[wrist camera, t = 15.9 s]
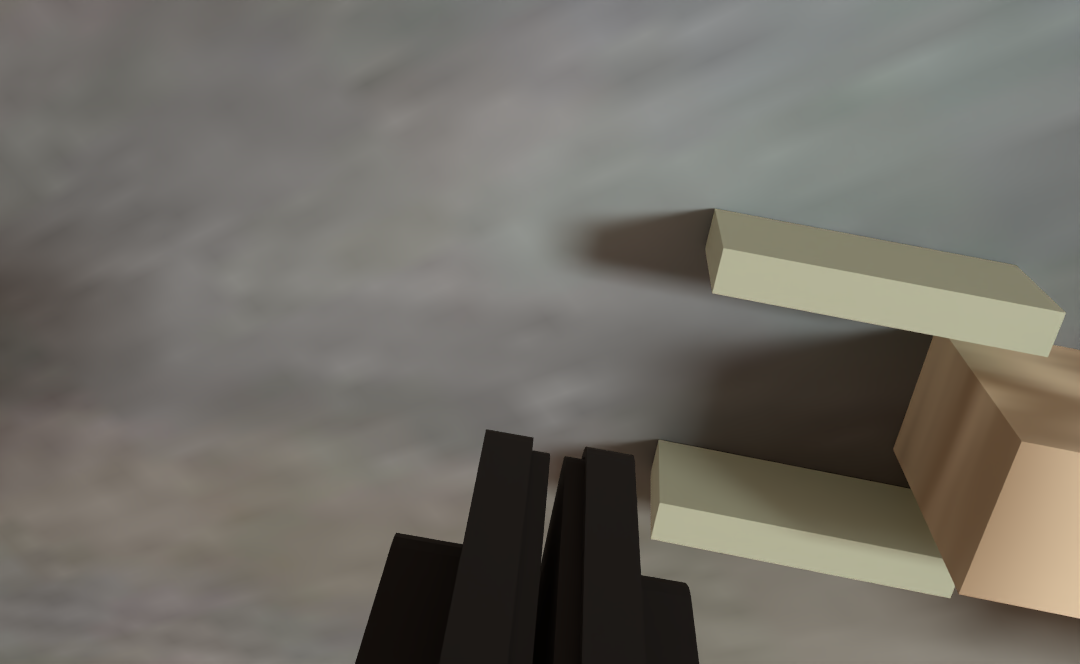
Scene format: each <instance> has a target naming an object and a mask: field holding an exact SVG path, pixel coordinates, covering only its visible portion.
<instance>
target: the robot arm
mask: <svg viewBox="0 0 1080 664" xmlns="http://www.w3.org/2000/svg"><path fill="white" fill-rule="evenodd" d="M532 447H533V438H532V437H527V436H521V435H515V434H510V433H504V432H498V431H493V430H487V429H486V433H485V437H484V442H483V447H482V452H481V457H480V462H479V467H478V472H477V477H476V482H475V487H474V492H473V497H472V502H471V507H470V512H469V517H468V522H467V527H466V532H465V537H464V542H463V544H458V543H452V542H446V541H440V540H435V539H429V538H423V537H417V536H412V535H406V534H400V533H396V534H395V536H394V539H393V542H392V544H391V548H390V551H389V554H388V557H387V561H386V564H385V567H384V570H383V574H382V577H381V580H380V584H379V587H378V590H377V593H376V597H375V600H374V603H373V606H372V610H371V613H370V616H369V620H368V623H367V626H366V629H365V633H364V636H363V639H362V642H361V646H360V649H359V652H358V656H357V659H356V662H355V664H699V659H698V651H697V642H696V634H695V626H694V618H693V610H692V601H691V595H690V590H689V587H688V586H687V584H686V583H683V582H677V581H672V580H666V579H660V578H654V577H648V576H643V575H641V567H640V549H639V531H638V513H637V495H636V477H635V461H634V456H633V455H629V454H623V453H618V452H612V451H606V450H601V449H595V448H589V447H585V449H584V452H583V455H582V459H578V458H572V457H566V456H565V457H564V460H563V464H562V468H561V473H560V478H559V482H558V487H557V492H556V496H555V501H554V506H553V510H552V515H551V520H550V524H549V529H548V534H547V538H546V543H545V548H544V552H543V557H542V545H543V533H544V521H545V510H546V498H547V486H548V474H549V463H550V454H549V453H544V452H538V451H532ZM541 557H542V562H541Z"/></svg>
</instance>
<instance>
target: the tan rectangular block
mask: <svg viewBox="0 0 1080 664" xmlns="http://www.w3.org/2000/svg"><path fill="white" fill-rule="evenodd" d="M893 450H894V453H895V455H896V457H897V459H898V461H899V464H900V466H901V468H902V470H903V472H904V475H905V477H906V479H907V481H908V483H909V486H910V488H911V490H912V492H913V495H914V497H915V499H916V501H917V503H918V506H919V508H920V510H921V512H922V514H923V517H924V519H925V521H926V523H927V525H928V528H929V530H930V532H931V534H932V536H933V539H934V541H935V543H936V545H937V547H938V550H939V552H940V554H941V556H942V558H943V561H944V563H945V565H946V567H947V569H948V572H949V574H950V576H951V578H952V580H953V583H954V585H955V587H956V589H957V591H958V594H960V595H965V596H970V597H975V598H980V599H985V600H990V601H995V602H1000V603H1005V604H1010V605H1015V606H1020V607H1025V608H1030V609H1035V610H1040V611H1045V612H1050V613H1055V614H1060V615H1065V616H1070V617H1075V618H1080V350H1076V349H1071V348H1066V347H1061V346H1056V345H1053V346H1052V348H1051V351H1050V353H1049V356H1048V357H1044V356H1039V355H1033V354H1028V353H1023V352H1018V351H1013V350H1007V349H1002V348H997V347H992V346H986V345H981V344H976V343H971V342H965V341H960V340H955V339H950V338H944V337H939V336H933V338H932V341H931V344H930V347H929V350H928V353H927V355H926V358H925V361H924V364H923V367H922V369H921V372H920V375H919V378H918V381H917V384H916V386H915V389H914V392H913V395H912V398H911V400H910V403H909V406H908V409H907V412H906V415H905V417H904V420H903V423H902V426H901V429H900V431H899V434H898V437H897V440H896V443H895V446H894V448H893Z"/></svg>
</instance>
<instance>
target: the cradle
mask: <svg viewBox="0 0 1080 664" xmlns="http://www.w3.org/2000/svg"><path fill="white" fill-rule="evenodd" d="M705 252H706V258H707V264H708V270H709V276H710V282H711V288H712V293H714V294H719V295H724V296H730V297H735V298H740V299H745V300H751V301H756V302H761V303H766V304H772V305H777V306H782V307H787V308H792V309H798V310H803V311H808V312H813V313H819V314H824V315H829V316H834V317H840V318H845V319H850V320H855V321H861V322H866V323H871V324H876V325H882V326H887V327H892V328H897V329H902V330H908V331H913V332H918V333H923V334H929V335H934V336H939V337H944V338H950V339H955V340H960V341H965V342H971V343H976V344H981V345H986V346H992V347H997V348H1002V349H1007V350H1013V351H1018V352H1023V353H1028V354H1033V355H1039V356H1044V357H1048V356H1049V353H1050V351H1051V348H1052V346H1053V344H1054V341H1055V339H1056V336H1057V334H1058V331H1059V329H1060V326H1061V324H1062V321H1063V319H1064V316H1065V314H1066V313H1065V312H1064V311H1063V310H1062V309H1061V308H1060V307H1059V306H1058V305H1057V304H1056V303H1055V302H1054V301H1053V300H1052V299H1051V298H1050V297H1049V296H1048V295H1047V294H1046V293H1045V292H1043V291H1042V290H1041V289H1040V288H1039V287H1038V286H1037V285H1036V284H1035V283H1034V282H1033V281H1032V280H1031V279H1030V278H1029V277H1028V276H1027V275H1026V274H1025V273H1024V272H1023V271H1021V270H1020V269H1019V268H1018V267H1017V266H1016V265H1012V264H1007V263H1001V262H996V261H991V260H985V259H980V258H975V257H969V256H964V255H959V254H954V253H948V252H943V251H938V250H932V249H927V248H922V247H916V246H911V245H906V244H900V243H895V242H890V241H884V240H879V239H874V238H869V237H863V236H858V235H853V234H847V233H842V232H837V231H831V230H826V229H821V228H815V227H810V226H805V225H800V224H794V223H789V222H784V221H778V220H773V219H768V218H762V217H757V216H752V215H746V214H741V213H736V212H731V211H725V210H720V209H715V210H714V214H713V218H712V222H711V227H710V231H709V235H708V239H707V243H706V247H705ZM651 539H654V540H659V541H664V542H669V543H674V544H679V545H684V546H689V547H694V548H699V549H704V550H709V551H714V552H719V553H725V554H730V555H735V556H740V557H745V558H750V559H755V560H760V561H765V562H770V563H775V564H780V565H785V566H790V567H795V568H800V569H805V570H810V571H815V572H820V573H825V574H830V575H835V576H840V577H845V578H850V579H856V580H861V581H866V582H871V583H876V584H881V585H886V586H891V587H896V588H901V589H906V590H911V591H916V592H921V593H926V594H931V595H936V596H941V597H946V598H951V595H952V593H953V590H954V588H955V585H954V583H953V580H952V578H951V576H950V574H949V572H948V569H947V567H946V565H945V563H944V561H943V558H942V556H941V554H940V552H939V550H938V547H937V545H936V543H935V541H934V539H933V536H932V534H931V532H930V530H929V528H928V525H927V523H926V521H925V519H924V517H923V514H922V512H921V510H920V508H919V506H918V503H917V501H916V499H915V497H914V495H913V492H912V490H911V489H909V488H904V487H899V486H893V485H888V484H883V483H878V482H873V481H868V480H863V479H858V478H852V477H847V476H842V475H837V474H832V473H827V472H822V471H817V470H812V469H806V468H801V467H796V466H791V465H786V464H781V463H776V462H771V461H766V460H760V459H755V458H750V457H745V456H740V455H735V454H730V453H725V452H720V451H714V450H709V449H704V448H699V447H694V446H689V445H684V444H679V443H673V442H668V441H663V440H659V441H658V445H657V449H656V453H655V457H654V461H653V465H652V469H651Z"/></svg>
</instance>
